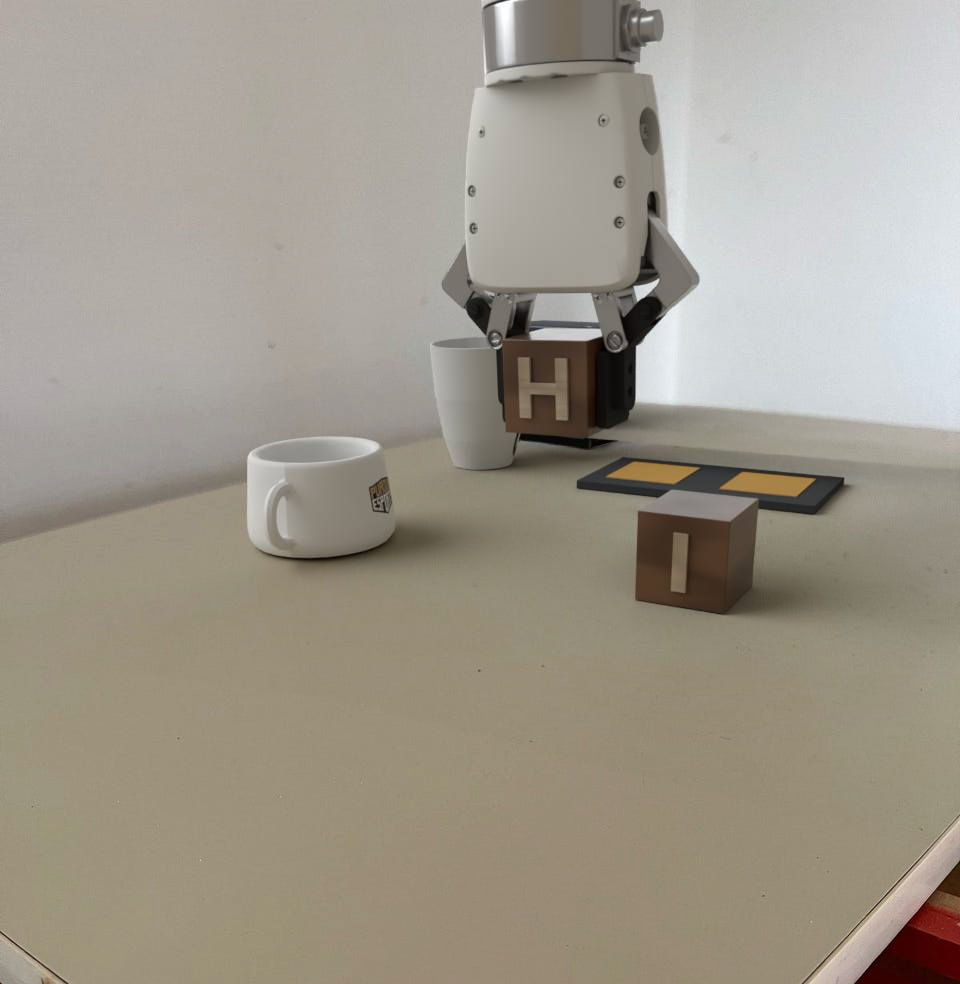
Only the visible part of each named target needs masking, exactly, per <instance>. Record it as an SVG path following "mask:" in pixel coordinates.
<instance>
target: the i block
mask: <svg viewBox="0 0 960 984" xmlns="http://www.w3.org/2000/svg"><path fill="white" fill-rule="evenodd" d="M758 504H759V499H756V498H746V497H737V496H728V495H718V494H709V493H700V492H690V491H681V490H670V491H669V492H667V493H666V494H664V495H662V496H661V497H657V498H656V499H654V500H653V501H651V502H649V503H648V504H647V505H645V506H643V507H641V508H640V509H639V510H637V523H636V524H637V525H636V554H635V555H636V559H635V585H634V586H635V588H634V600H636V601H641V602H647V603H654V604H661V605H666V606H672V607H678V608H684V609H690V610H697V611H703V612H709V613H715V614H722V615H724V614H726V613H727V612H728V611H729V609H730V608H732V607H733V606H734V605H735V604H736V602H737V601H739V599H740V598H741V597H743V595H744V594H745V593H746V592H747V591H748V590H749V589H750V588H751V587H752V586H753V579H754V567H755V554H756V543H757V542H756V541H757V530H758V529H757V527H758V516H759V508H758Z"/></svg>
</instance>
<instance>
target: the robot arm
mask: <svg viewBox="0 0 960 984" xmlns="http://www.w3.org/2000/svg"><path fill="white" fill-rule="evenodd" d="M480 4H481V6H480V7H481V26H482V27H481V28H482V49H483V50H482V51H483V53H482V54H483V71H484V72H483V74H484V76H483V77H484V78H483V79H484V86H482V87H481V86H480V87H476V88H474V93H473V99H472V104H471V105H472V106H471V111H470V120H469V128H468V135H467V149H466V160H465V184H464V186H465V187H464V189H465V190H464V234H465V235H464V236H465V238H464V239H465V240H464V241H463V243H462V244H461V246H460V247H459V250H458V251H457V253H456V255H455V257H454V259H453V260H452V262H451V263H450V265H449V267H448V268H447V270H446V272H445V274H444V275H443V278H442V279H441V288H442V290H443V291H444V293H446V295H447V296H448V297H450V298H451V299H452V300H453V301H454V302H455V303H456V304H457V305H458V306H459V307H460V308H461V309H464V310H465V311H466V313H467V316H468V317H469V319H470V320H471V321H472V322H473V323H474V325H475V326H477V328H478V329H479V330H480V331H481V332H482V334H484V337H486V342H487V344H488V346H489V347H490V348H491V349H493V350H496V362H497V386H498V400H499V402H500V404H502V417H503V421H504V422H505V402H504V377H503V352H502V339H506V338H509V337H513V336H517V335H521V334H525V333H528V332H529V327H530V323H531V321H532V318H533V314H534V309H535V308H534V307H535V304H536V300H537V295H538V294H590V295H591V298H592V302H593V306H594V310H595V314H596V317H597V321H598V322H599V325H600V329H601V333H602V337H603V351H602V352H599V353H597V356H596V358H595V414H596V425H597V426H598V428H599V429H604V430H610V429H612V428H614V427H616V426H618V425H620V424H622V423H624V422H627V421H628V419H629V417H630V411H633V409H634V407H635V404H636V401H637V400H636V397H637V346H640V345H642V344H643V342H644V340H645V339H646V336H648V334H650V332H651V331H652V330H653V329H654V328H655V327H656V326H657V325H658V323H659V322H661V320H662V319H664V317H665V316H666V315H667V314H668V312H669V311H670V310H672V309H673V308H674V307H676V306H677V305H678V304H679V303H681V301H683V300H684V299H685V298H686V297H688V295H689V294H691V293H692V292H693V291H694V290H695V289H696V288H697V287H698V285H699V284H700V275H699V273H698V271H697V270H696V268H695V267H694V265H693V264H692V263H691V261H690V260H689V259H688V257H687V256H686V254H685V253H684V252H683V250H682V248H681V247H680V245H679V244H678V243H677V241H676V240H675V239H674V237H673V236H672V234H671V233H670V232H669V214H668V213H669V212H668V210H669V208H668V190H667V175H666V174H667V173H666V165H665V164H666V162H665V152H664V150H665V149H664V143H663V134H662V124H661V123H662V122H661V116H660V110H659V109H660V108H659V103H658V96H657V91H656V85H655V81H654V76H653V75H652V74H649V73H648V74H647V73H639V72H637V64H639V63H641V50H642V48H645V47H647V46H648V44H655V43H661V41H662V39H663V37H664V31H665V30H664V29H665V23H664V16H663V12H662V11H661V9H659V8H657V9H651V10H650V9H649V10H647V9H646V8H644V7H642V3H641V1H640V0H480ZM656 281H658V282H657V284H656V285H655V287H653V288H651V291H650V292H649V293H647V294H646V295H645V296H644V297H641V298H640V299H639V300H638V298H637V294H636V290H635V287H639V286H645V285H649V284H651V283H654V282H656ZM489 293H492V294H494V295H491V294H489Z"/></svg>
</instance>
